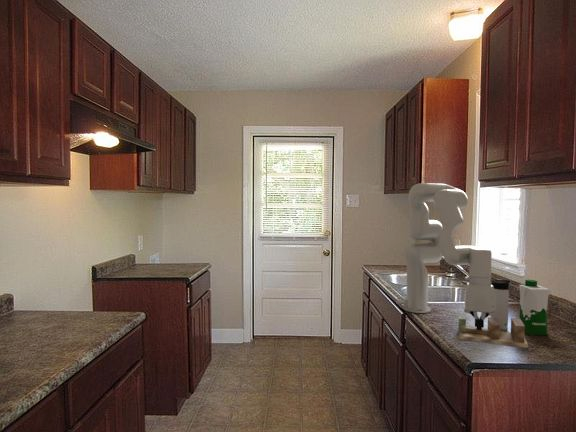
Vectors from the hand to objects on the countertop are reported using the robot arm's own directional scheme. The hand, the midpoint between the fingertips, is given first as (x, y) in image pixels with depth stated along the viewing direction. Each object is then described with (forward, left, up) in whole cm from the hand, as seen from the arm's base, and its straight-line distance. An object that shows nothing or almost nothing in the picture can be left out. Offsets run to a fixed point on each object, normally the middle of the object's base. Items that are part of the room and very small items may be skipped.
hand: (479, 329), depth 149 cm
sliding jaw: (0, 0, -1) cm, 2 cm away
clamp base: (+4, 0, -3) cm, 5 cm away
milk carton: (+20, +15, -3) cm, 26 cm away
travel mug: (+8, +13, -3) cm, 16 cm away
